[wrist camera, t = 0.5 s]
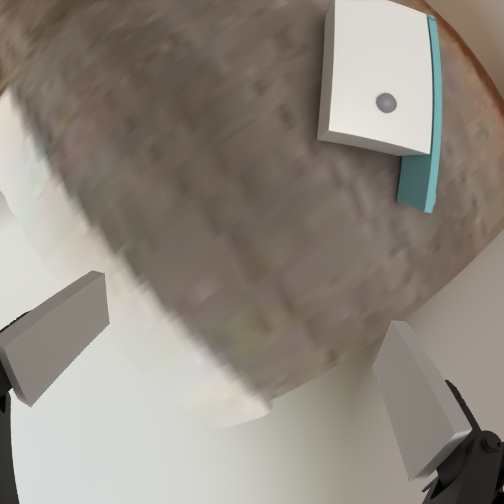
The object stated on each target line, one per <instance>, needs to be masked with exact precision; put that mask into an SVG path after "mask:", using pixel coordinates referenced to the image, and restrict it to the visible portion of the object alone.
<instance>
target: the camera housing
mask: <svg viewBox="0 0 504 504" xmlns="http://www.w3.org/2000/svg"><path fill="white" fill-rule="evenodd" d="M431 131H432V66H431V51H430V41H429V32H428V24H427V17H426V14H424V13H421V12H419V11H416V10H414V9H411V8H408V7H406V6H403V5H400V4H397V3H394V2H391V1H388V0H331V2H330V5H329V9H328V12H327V16H326V19H325V32H324V53H323V70H322V85H321V98H320V110H319V121H318V131H317V140H321V141H327V142H333V143H339V144H344V145H350V146H355V147H360V148H365V149H369V150H374V151H378V152H383V153H387V154H391V155H395V156H406V155H426V154H430V146H431Z"/></svg>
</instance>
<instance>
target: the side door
mask: <svg viewBox="0 0 504 504" xmlns="http://www.w3.org/2000/svg"><path fill="white" fill-rule="evenodd" d="M427 24H428V32H429V41H430V51H431V66H432V131H431V146H430V154H426V155H406V156H402V165H401V173H400V181H399V188H398V195H397V202H399V203H402V204H405V205H407V206H410V207H413V208H416V209H419V210H422V211H424V212H429V213H432V210H433V205H435V200H436V194H435V191H436V184H437V176H438V167H439V157H440V144H441V126H442V81H441V63H440V51H439V42H438V34H437V27H436V20H435V17H434V16H432V15H428V16H427Z"/></svg>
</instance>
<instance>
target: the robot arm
mask: <svg viewBox="0 0 504 504" xmlns="http://www.w3.org/2000/svg"><path fill="white" fill-rule="evenodd" d="M109 324H110V323H109V315H108V306H107V296H106V284H105V273H101V272H97V271H91V272H89V273H87V274H86V275H84V276H83V277H81V278H80V279H78V280H76V281H75V282H73V283H72V284H70V285H69V286H67V287H66V288H64V289H63V290H61V291H60V292H58V293H57V294H55V295H54V296H52V297H51V298H49V299H48V300H46V301H45V302H43V303H42V304H40V305H39V306H37V307H36V308H34V309H33V310H31V311H28V312H26V313H24V314H22V315H21V316H20V317H18V318H17V319H16V320H14V321H13V322H11V323H10V325H7V326H6V327H4V328H3V329H2V330H0V504H19V500H18V494H17V489H16V483H15V476H14V468H13V459H12V447H11V426H10V424H11V422H10V413H11V408H10V407H11V397H10V394H9V392H8V391H9V390H10V389H11V388H13V390H14V392H15V394H16V396H17V398H18V399H19V400H20V401H22V402H23V403H25V404H27V405H28V406H29V407H31V406H32V405H33V404H34V403H35V402H36V401H37V400H38V398H39V397H40V396H41V395H42V394H43V393H44V392H45V391H46V390H47V388H48V387H49V386H50V385H51V384H52V383H53V382H54V381H55V380H56V378H58V376H59V375H60V374H61V373H62V372H63V371H64V370H65V369H66V368H67V367H68V366H69V365H70V364H71V362H72V361H73V360H74V359H75V358H76V357H77V356H78V355H79V354H80V353H81V352H82V351H83V350H84V349H85V348H86V347H87V346H88V345H89V344H90V343H91V342H92V341H93V340H94V339H95V338H96V337H97V336H98V335H99V334H100V333H101V332H102V331H103V330H104V329H105V328H106V327H107V326H108V325H109ZM372 370H373V372H374V375H375V378H376V381H377V383H378V386H379V389H380V392H381V394H382V397H383V400H384V403H385V406H386V408H387V412H388V415H389V417H390V421H391V424H392V427H393V429H394V432H395V436H396V439H397V442H398V445H399V449H400V452H401V455H402V459H403V462H404V465H405V469H406V472H407V476H408V480H409V482H412V481H417V480H421V479H425V478H427V477H428V476H429V475H431V474H432V473H433V472H434V471H435V470H437V472H438V476H437V477H436V478H435V479H434V480H433V481H432V482H430V483H429V484H428V485H427V486H426V487H425V488H424V489H423V490H422V492H425V491H426V490H427V489H429V488H430V489H429V491H428V493H427V496H426V497H425V499H424V501H423V503H422V504H504V492H503V486H504V442H501V440H500V438H499V437H498V436H497V435H496V434H494V433H493V432H491V431H481V429H480V427H479V426H478V424H477V422H476V420H475V418H474V417H473V415H472V413H471V411H470V410H469V408H468V406H466V403H465V401H464V399H462V398H461V395H460V393H459V391H458V390H457V388H456V387H455V386H454V385H453V384H452V383H450V382H449V381H448V380H444V379H443V377H442V376H441V374H440V372H439V371H438V369H437V367H436V366H435V364H434V363H433V361H432V360H431V358H430V357H429V355H428V354H427V352H426V351H425V349H424V347H423V346H422V345H421V343H420V342H419V340H418V339H417V337H416V336H415V334H414V333H413V331H412V330H411V328H410V327H409V326H408V324H407V323H406V322H405V321H393V320H392V321H391V323H390V326H389V329H388V331H387V334H386V336H385V339H384V341H383V344H382V346H381V349H380V351H379V354H378V356H377V358H376V360H375V363H374V365H373V367H372Z"/></svg>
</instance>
